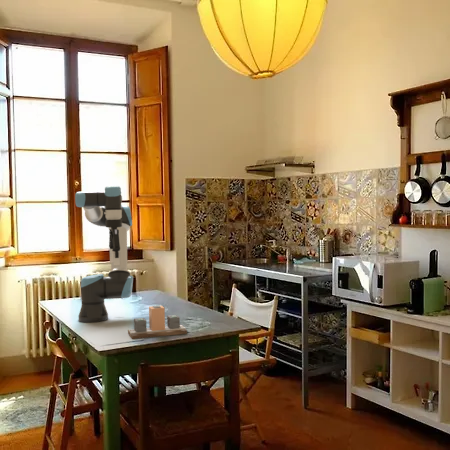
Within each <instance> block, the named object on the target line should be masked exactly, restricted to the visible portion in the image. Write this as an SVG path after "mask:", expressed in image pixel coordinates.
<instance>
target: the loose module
mask: <svg viewBox="0 0 450 450" xmlns="http://www.w3.org/2000/svg"><path fill="white" fill-rule="evenodd" d="M165 311H166V310H165V307H164V306H163V305H152V306H149V307H148V314H149V315H148V319H149V321H148V324H149V326H148V328H150V329H151V330H152V331H156V330H165V326H166V318H165V317H166V314H165Z"/></svg>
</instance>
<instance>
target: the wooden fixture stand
mask: <svg viewBox="0 0 450 450" xmlns="http://www.w3.org/2000/svg"><path fill="white" fill-rule="evenodd" d="M166 321H167V322H166V324H167V325H165V330H156V331H152V330H151V329H150V328H149V327H147V320H146V319H145V317H138V318H137V317H136V318H134V319H133V329H127V334H128V336H129V337H130V339H132V340H136V339H137V340H138V339H146V338H155V337H166V336H175V335H177V336H178V335H184V334H188V330H187V329H186V327H185V326H184V325H182V324H181V323H180V321H181V320H180V316H178V314H174V315H173V314H172V315H166Z"/></svg>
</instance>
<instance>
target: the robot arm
mask: <svg viewBox="0 0 450 450" xmlns="http://www.w3.org/2000/svg"><path fill="white" fill-rule="evenodd" d="M121 190H122V188H121V187H120V186H119V185H116V186H115V185H114V186H105V187H104V191H101V190H100V191H83V190H82V191H76V193H75V195H74V198H75V199H74V200H75V203H74V204H75V206H76V207H77V208H83V210H84V216H85V218H86V220H87V222H90V223H91V224H92V225H95V226H98V227H105V228H108V231H109V233H108V234H109V237H108V239H109V241H108V243H109V244H108V247H109V263H110V271H109V272H108V273H107V276H105V275H104V273H98V274H96V273H95V274H91V275H87V276H84V277H82V279H81V280H80V289H81V291H80V296H81V306H80V310H79V314H78V321H79V322H81V323H97V322H103V321H104V322H105V321H106V320H108V319H109V314H108V313H109V312H108V311H107V307H106V305H105V300H108V299H109V300H112V299H113V300H114V299H116V300H117V299H121V300H123V299H128V298H131V296H132V293H133V283H134V276H133V275H131V272H130V271H129V270H128V231H129V230H130V227H132V226H133V219H132V212H131V208H130V206H128V205H123V204H122V202H123V196H122V191H121Z"/></svg>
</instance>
